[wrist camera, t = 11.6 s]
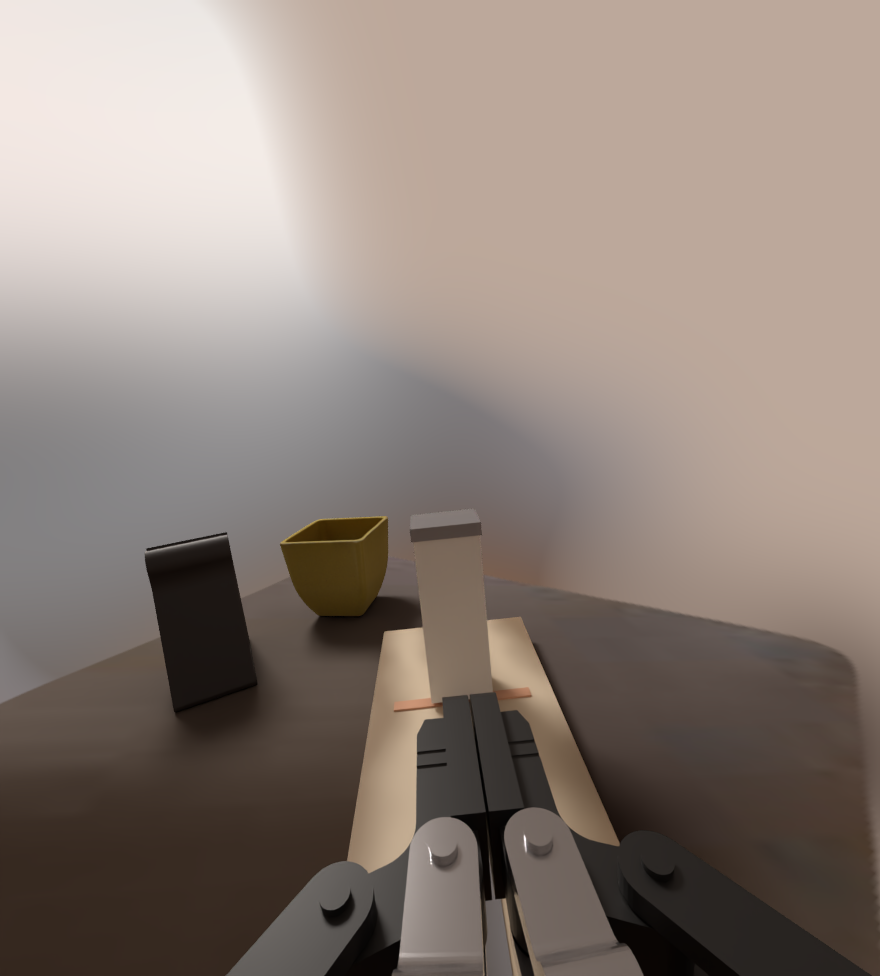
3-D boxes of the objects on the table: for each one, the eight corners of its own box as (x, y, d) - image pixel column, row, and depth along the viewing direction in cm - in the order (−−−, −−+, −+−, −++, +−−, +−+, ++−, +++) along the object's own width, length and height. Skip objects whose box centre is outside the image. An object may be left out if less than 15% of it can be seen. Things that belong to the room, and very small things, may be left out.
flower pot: (328, 589, 55) (317, 517, 53) (398, 588, 53) (388, 514, 51) (292, 626, 46) (277, 543, 44) (373, 627, 44) (361, 540, 43)
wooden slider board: (308, 1221, 12) (295, 1170, 12) (386, 652, 40) (384, 630, 39) (736, 1166, 13) (739, 1114, 12) (521, 637, 40) (520, 615, 40)
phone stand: (181, 658, 42) (151, 536, 40) (249, 637, 45) (225, 522, 42) (174, 714, 34) (136, 567, 32) (257, 686, 37) (229, 547, 34)
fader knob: (430, 704, 29) (409, 529, 27) (429, 674, 32) (411, 515, 30) (495, 697, 29) (480, 522, 27) (488, 667, 32) (474, 508, 30)
